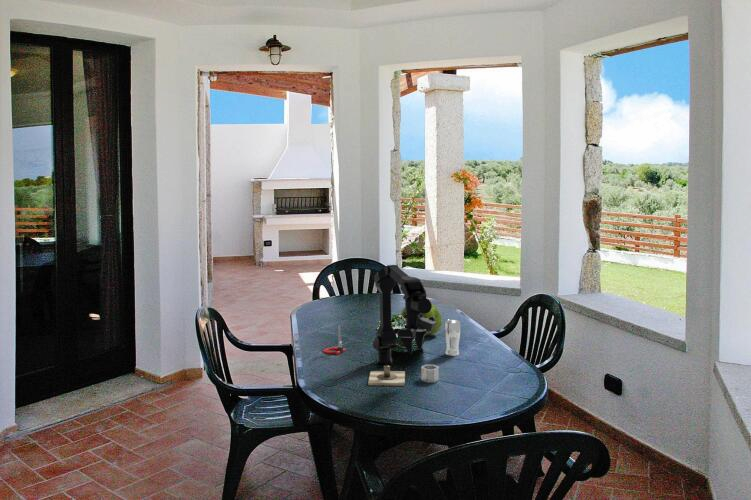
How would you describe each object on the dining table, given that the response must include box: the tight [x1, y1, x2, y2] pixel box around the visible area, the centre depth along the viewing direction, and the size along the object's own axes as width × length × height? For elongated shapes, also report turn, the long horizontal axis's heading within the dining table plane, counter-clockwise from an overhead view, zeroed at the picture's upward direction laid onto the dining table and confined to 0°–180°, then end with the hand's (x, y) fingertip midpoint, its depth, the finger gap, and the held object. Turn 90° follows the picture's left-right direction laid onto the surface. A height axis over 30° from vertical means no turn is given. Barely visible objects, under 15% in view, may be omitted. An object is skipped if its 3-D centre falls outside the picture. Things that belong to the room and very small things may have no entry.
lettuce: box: [399, 302, 443, 337], centre depth 305 cm, size 18×23×19 cm
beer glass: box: [444, 319, 461, 357], centre depth 272 cm, size 7×7×15 cm
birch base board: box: [367, 370, 406, 387], centre depth 241 cm, size 14×14×1 cm
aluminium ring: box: [420, 364, 440, 384], centre depth 239 cm, size 7×7×5 cm
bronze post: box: [383, 364, 391, 378], centre depth 240 cm, size 2×2×4 cm
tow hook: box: [323, 324, 347, 355], centre depth 278 cm, size 8×13×9 cm
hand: (415, 351), depth 234 cm, fingers open, 9 cm apart
